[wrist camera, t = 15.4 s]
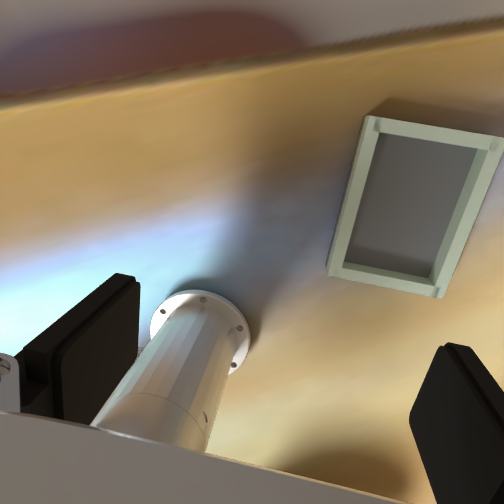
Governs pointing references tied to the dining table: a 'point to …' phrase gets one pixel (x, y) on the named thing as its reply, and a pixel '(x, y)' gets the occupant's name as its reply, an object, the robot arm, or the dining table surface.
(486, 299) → the dining table surface
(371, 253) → the serving tray
